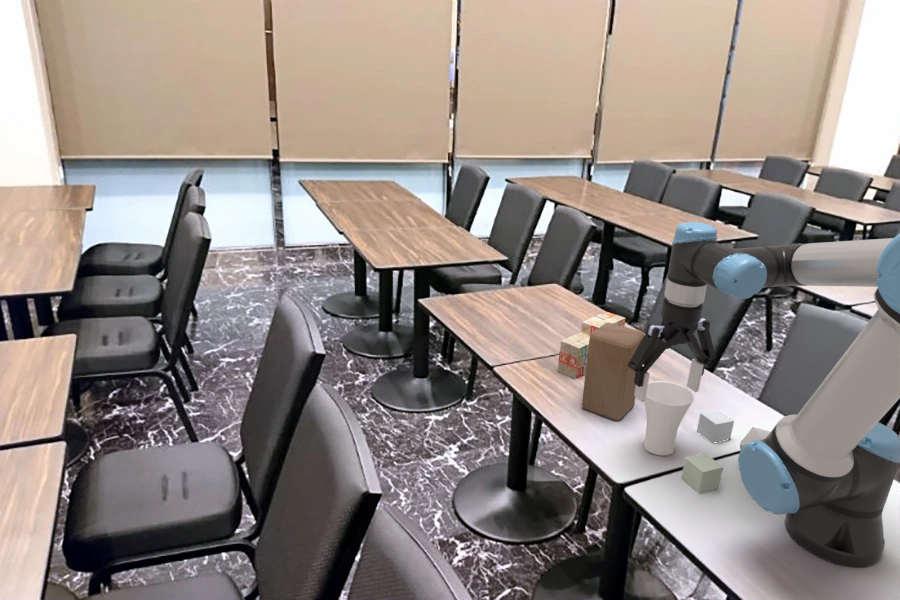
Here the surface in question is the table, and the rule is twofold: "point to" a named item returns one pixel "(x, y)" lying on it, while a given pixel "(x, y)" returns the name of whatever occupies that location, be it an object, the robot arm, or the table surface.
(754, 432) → the grey block
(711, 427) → the light gray cube
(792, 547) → the table surface
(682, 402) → the cup
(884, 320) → the robot arm
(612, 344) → the block
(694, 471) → the sage cube
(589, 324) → the stack of blocks
